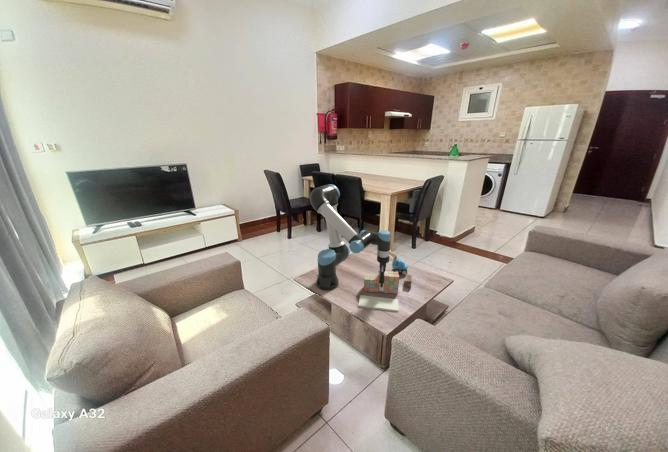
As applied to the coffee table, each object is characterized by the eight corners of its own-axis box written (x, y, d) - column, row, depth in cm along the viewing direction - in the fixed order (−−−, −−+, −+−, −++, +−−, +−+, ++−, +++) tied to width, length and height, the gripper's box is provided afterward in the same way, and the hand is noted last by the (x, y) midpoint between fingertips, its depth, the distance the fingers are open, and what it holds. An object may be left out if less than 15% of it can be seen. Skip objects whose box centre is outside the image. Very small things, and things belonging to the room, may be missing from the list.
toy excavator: (384, 267, 192) (385, 247, 186) (407, 269, 189) (409, 248, 183) (384, 273, 184) (385, 252, 178) (408, 275, 181) (410, 253, 175)
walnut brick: (404, 287, 168) (405, 280, 166) (405, 280, 175) (405, 274, 173) (410, 288, 167) (411, 281, 165) (411, 281, 174) (412, 275, 172)
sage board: (358, 306, 150) (358, 305, 150) (360, 296, 160) (360, 295, 159) (398, 311, 146) (398, 310, 145) (398, 300, 155) (398, 299, 154)
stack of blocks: (364, 292, 164) (364, 275, 159) (363, 286, 170) (364, 270, 165) (398, 293, 161) (399, 276, 157) (396, 287, 167) (398, 271, 163)
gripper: (389, 263, 147) (387, 297, 155) (389, 248, 165) (388, 279, 173) (376, 262, 149) (374, 295, 157) (378, 247, 166) (376, 278, 174)
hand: (381, 287), depth 165 cm, fingers closed on stack of blocks, 7 cm apart
